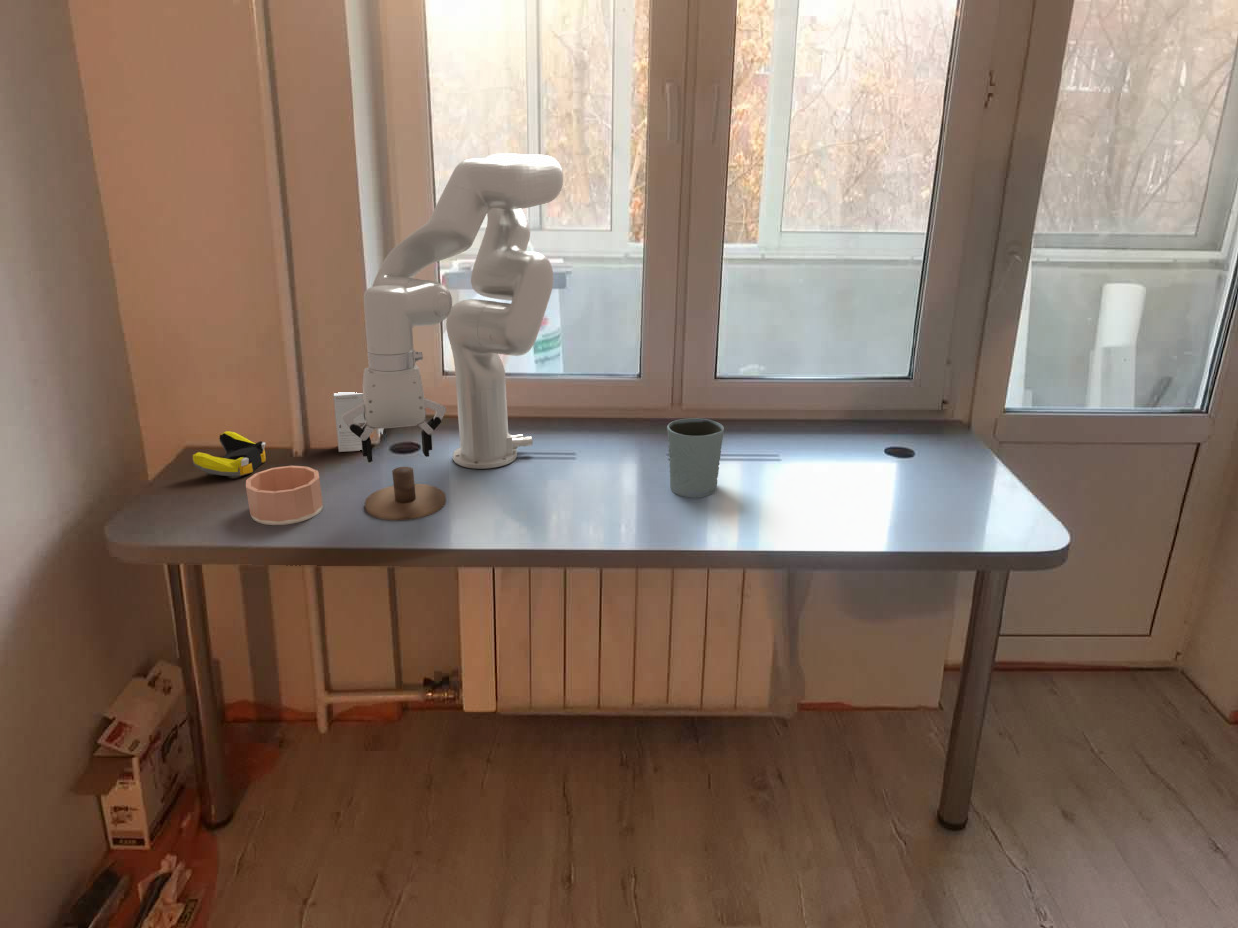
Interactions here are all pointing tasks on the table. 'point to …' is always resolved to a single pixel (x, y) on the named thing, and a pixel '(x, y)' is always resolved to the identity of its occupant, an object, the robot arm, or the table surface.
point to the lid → (405, 498)
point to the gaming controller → (232, 457)
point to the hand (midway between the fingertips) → (397, 457)
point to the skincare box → (344, 434)
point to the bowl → (284, 495)
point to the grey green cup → (694, 456)
